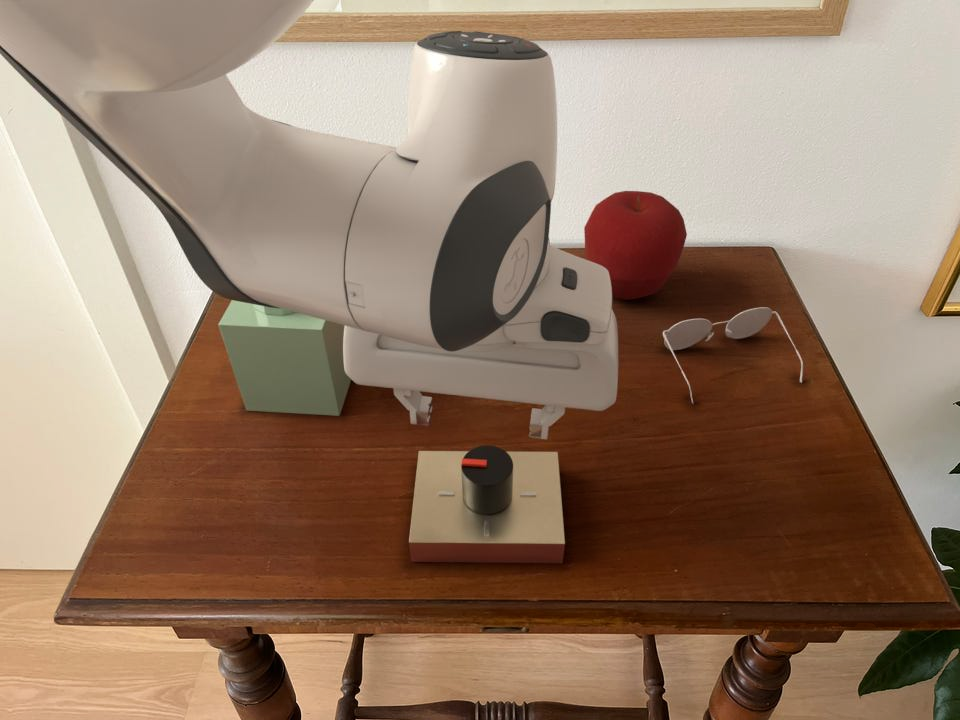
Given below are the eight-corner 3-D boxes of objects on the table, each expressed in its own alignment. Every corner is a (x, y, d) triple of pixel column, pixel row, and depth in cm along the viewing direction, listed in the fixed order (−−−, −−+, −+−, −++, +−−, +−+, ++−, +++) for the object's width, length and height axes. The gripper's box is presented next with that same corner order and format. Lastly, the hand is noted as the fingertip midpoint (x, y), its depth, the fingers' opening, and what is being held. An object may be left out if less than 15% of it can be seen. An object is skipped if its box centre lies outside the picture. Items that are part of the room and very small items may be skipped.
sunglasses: (764, 333, 84) (780, 303, 80) (801, 389, 79) (819, 361, 75) (654, 353, 82) (664, 323, 78) (684, 412, 77) (696, 384, 73)
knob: (513, 475, 65) (514, 444, 62) (510, 516, 62) (511, 485, 59) (465, 472, 66) (464, 441, 63) (459, 512, 62) (458, 481, 59)
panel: (562, 563, 62) (565, 542, 60) (411, 562, 62) (408, 541, 60) (555, 472, 69) (557, 450, 67) (420, 470, 70) (418, 449, 68)
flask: (339, 416, 75) (318, 310, 66) (246, 410, 76) (211, 305, 67) (359, 352, 83) (343, 248, 73) (274, 348, 83) (246, 245, 74)
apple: (611, 331, 85) (625, 233, 76) (560, 278, 93) (568, 184, 84) (693, 303, 89) (716, 206, 80) (638, 255, 97) (653, 162, 88)
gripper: (317, 297, 47) (342, 440, 57) (632, 328, 45) (605, 471, 54) (344, 246, 52) (364, 385, 61) (632, 271, 50) (607, 411, 59)
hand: (479, 426), depth 58 cm, fingers open, 8 cm apart
